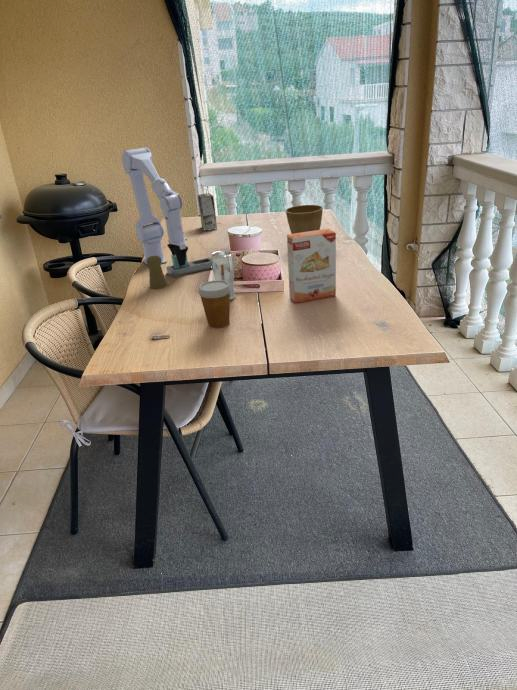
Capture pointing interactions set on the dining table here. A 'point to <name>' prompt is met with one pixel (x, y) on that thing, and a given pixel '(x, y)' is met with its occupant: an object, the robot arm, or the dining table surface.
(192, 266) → the grey compartment tray
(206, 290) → the disposable coffee cup
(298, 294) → the cracker box
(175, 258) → the clip
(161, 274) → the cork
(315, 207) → the plant pot
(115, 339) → the dining table surface
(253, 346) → the dining table surface
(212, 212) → the coffee box
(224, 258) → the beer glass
